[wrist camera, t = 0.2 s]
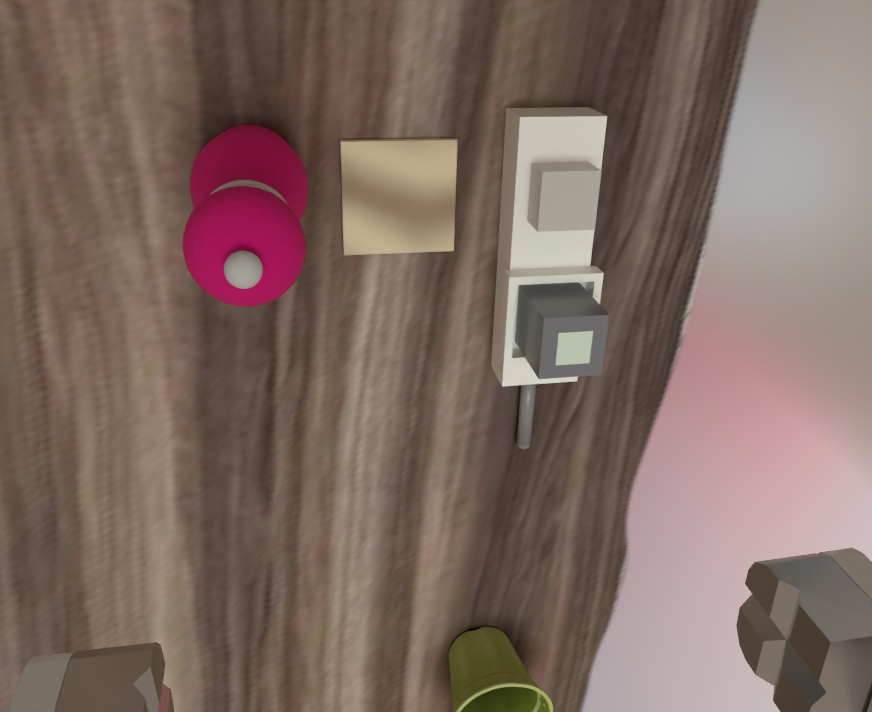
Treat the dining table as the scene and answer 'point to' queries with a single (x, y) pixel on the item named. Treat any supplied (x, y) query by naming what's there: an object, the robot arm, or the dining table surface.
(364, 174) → the coaster
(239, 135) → the pepper mill
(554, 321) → the block
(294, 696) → the dining table surface
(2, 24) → the dining table surface
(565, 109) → the power strip
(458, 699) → the plant pot
